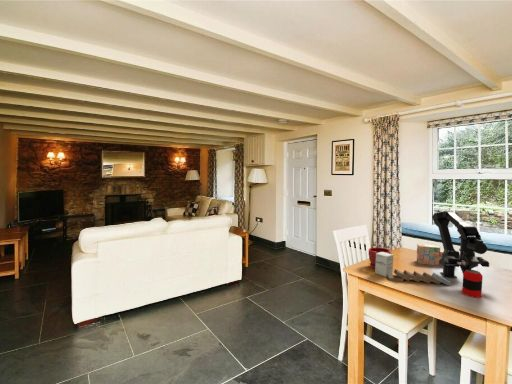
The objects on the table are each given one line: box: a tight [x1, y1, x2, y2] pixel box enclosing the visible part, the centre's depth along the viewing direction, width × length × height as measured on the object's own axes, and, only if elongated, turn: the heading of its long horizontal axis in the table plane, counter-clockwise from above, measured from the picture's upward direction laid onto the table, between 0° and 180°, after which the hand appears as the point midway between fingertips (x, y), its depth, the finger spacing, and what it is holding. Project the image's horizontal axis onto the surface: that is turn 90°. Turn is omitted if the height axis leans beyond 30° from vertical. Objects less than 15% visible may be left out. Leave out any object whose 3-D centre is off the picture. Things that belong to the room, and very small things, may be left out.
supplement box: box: [374, 252, 395, 278], centre depth 161 cm, size 7×7×13 cm
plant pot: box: [368, 247, 392, 269], centre depth 173 cm, size 13×13×12 cm
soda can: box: [461, 269, 483, 299], centre depth 134 cm, size 8×8×12 cm
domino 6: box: [431, 272, 451, 286], centre depth 148 cm, size 5×2×8 cm
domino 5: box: [422, 271, 442, 285], centre depth 149 cm, size 5×2×8 cm
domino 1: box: [386, 274, 404, 283], centre depth 154 cm, size 5×2×8 cm
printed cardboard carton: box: [416, 243, 444, 267], centre depth 181 cm, size 21×6×12 cm, turn 70°
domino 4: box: [412, 270, 432, 284], centre depth 151 cm, size 5×2×8 cm
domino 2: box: [393, 268, 412, 282], centre depth 153 cm, size 5×2×8 cm
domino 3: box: [402, 269, 421, 283], centre depth 152 cm, size 5×2×8 cm
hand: (465, 276), depth 145 cm, fingers closed
